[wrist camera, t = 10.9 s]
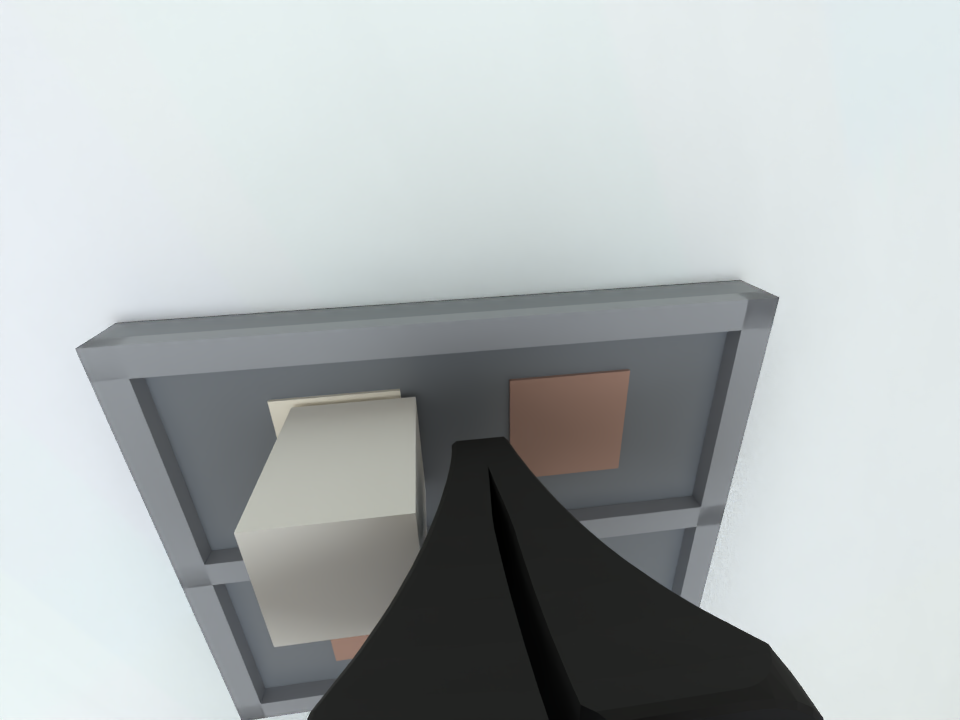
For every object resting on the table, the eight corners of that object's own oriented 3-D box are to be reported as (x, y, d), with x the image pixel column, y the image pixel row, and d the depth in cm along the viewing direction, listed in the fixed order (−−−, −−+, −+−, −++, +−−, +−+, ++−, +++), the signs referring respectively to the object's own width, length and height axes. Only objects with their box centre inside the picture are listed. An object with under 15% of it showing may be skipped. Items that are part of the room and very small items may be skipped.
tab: (425, 490, 13) (429, 626, 9) (314, 502, 13) (274, 647, 9) (415, 396, 12) (415, 512, 8) (291, 407, 11) (233, 533, 8)
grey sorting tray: (667, 618, 19) (686, 655, 18) (255, 676, 17) (241, 720, 16) (741, 280, 13) (779, 297, 11) (115, 323, 11) (74, 348, 10)
